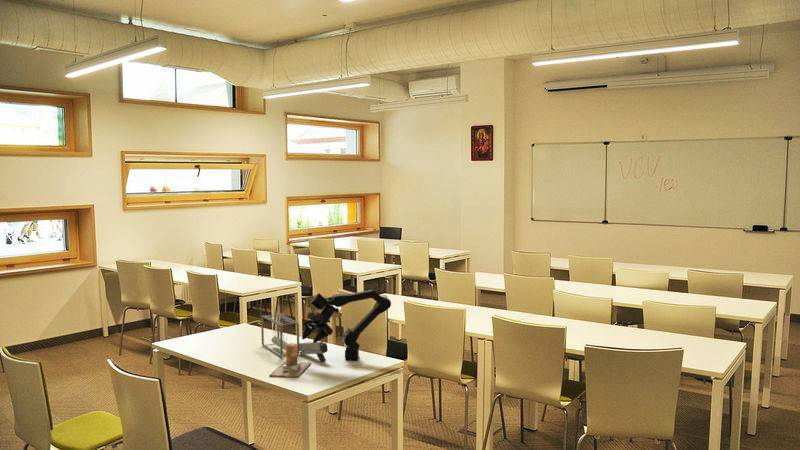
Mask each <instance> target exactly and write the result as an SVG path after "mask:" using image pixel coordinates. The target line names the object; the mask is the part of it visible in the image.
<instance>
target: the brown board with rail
mask: <svg viewBox="0 0 800 450" xmlns="http://www.w3.org/2000/svg"><path fill="white" fill-rule="evenodd" d="M311 365H312V362H306V361H305V362H304V361H303V362H301V361H298V364H297V365H295V366H288V365H286V361H283V362H282V363H281V364H279V366H278V367H277V368H275V369H274V370H273V371H272V372H271V373H270V374H269V375H268V376H269V378H293V379H294V378H295V379H298V378H300V377H301V375H303V373H304V372H305V371H306V370H307V369H309V367H310V366H311Z"/></svg>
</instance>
